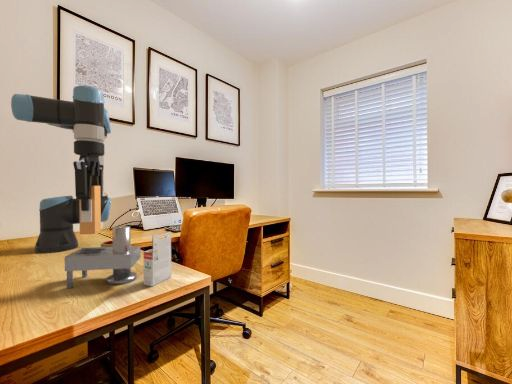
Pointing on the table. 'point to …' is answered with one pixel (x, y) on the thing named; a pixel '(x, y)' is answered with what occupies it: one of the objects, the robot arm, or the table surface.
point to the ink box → (158, 260)
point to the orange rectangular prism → (96, 213)
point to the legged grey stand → (106, 259)
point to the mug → (107, 244)
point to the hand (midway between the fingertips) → (90, 220)
